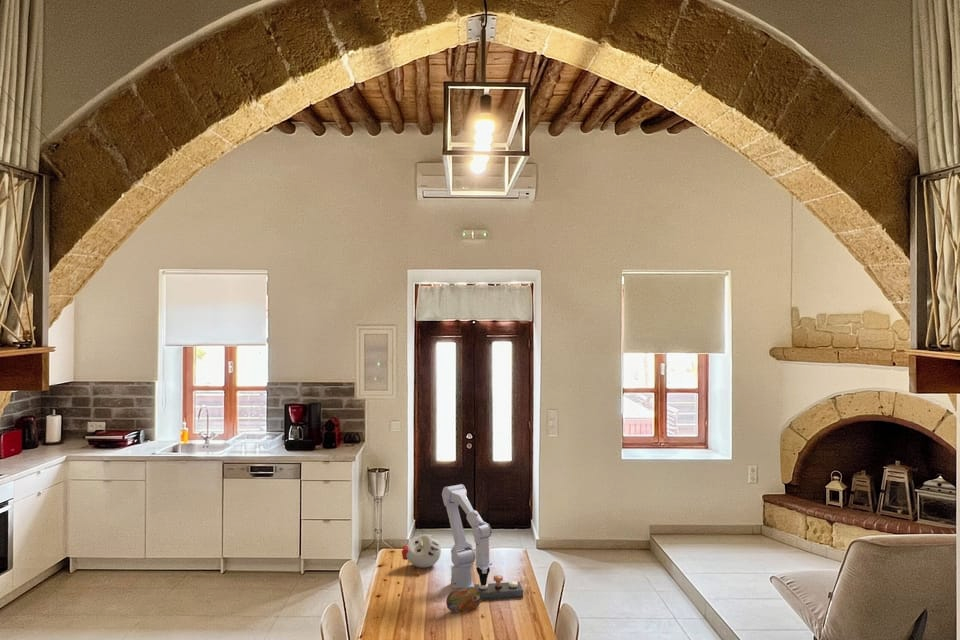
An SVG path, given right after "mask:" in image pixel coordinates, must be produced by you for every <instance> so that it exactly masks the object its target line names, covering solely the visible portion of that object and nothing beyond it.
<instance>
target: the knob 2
mask: <svg viewBox="0 0 960 640" xmlns="http://www.w3.org/2000/svg"><path fill="white" fill-rule="evenodd" d="M508 582H509V587H511V588H516V587H518V582H519V581H514V580H512V581H508Z"/></svg>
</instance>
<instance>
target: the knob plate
mask: <svg viewBox="0 0 960 640" xmlns="http://www.w3.org/2000/svg"><path fill="white" fill-rule="evenodd" d="M509 582H510V581H507V582H501V587H500V588H497V587H496V582H495V583H494V582H493V583H492V582H491V583H487V584H488V589H485V590H481V589H479V584H480V583H477V584H475V583H473V586H474V587H473V588H476V589H478V590H479V591H480V593H481V601H489V600H490V601H491V600H502V599H503V600H504V599H505V598H507V599H519V598H521V599H522V598H524V589H523V587H522V584H521V583H520V581H517V582H518V587H516V588H511V587H509Z"/></svg>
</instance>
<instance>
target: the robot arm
mask: <svg viewBox="0 0 960 640" xmlns="http://www.w3.org/2000/svg"><path fill="white" fill-rule="evenodd" d="M467 495H468V491H467V489H466V487H465V485H464V484H462V483H459V484H456V485H455V484H454V485H450V486H444V487H443V489H442V493H441V497H442V502H443V505H444V507H446V512H447V516H448V519H449V521H448V522H449V525H450V529H451V533H452V537H453V541H454V542H453V543H454V545H453V546H452V548H451V549H450V554H451V555H450V557H451V562H452V565H450V566H451V567H450V570H451V573H450V576H451V577H450V583H451V588H452V589H454V590H455V589H464V588H469V587H473V588H474V582H473V570H472V569H473V568H472V566H473V565H474V562H475V566H476V567H475V570H476V572H477V574H478V578H479V584H480V583H481V585H486V583H487V582H488V576H489V574H490V570H491V569H490V566H493V562H492V561H490V537H491V536H492V531H493V530H492V527H491V526H490V525H491V524H489V523H487V522H486V521H484V520H483V518H482V517H481V515H480V514H479V512H478V510H475V509H474V508H473V506H472V504H471V502H470V500H469V499H468V497H467ZM459 507H461V509H462V510H463V512H464V513H465V514H466V518H465V519H466V520H467V522H468V524H469V526H470V527H471V529H472V536H473V537H474V538H473V539H474V540H473V541H474V543H475V549H474V548H473V545H472V543H470V542H468V541H467V540H466V539H467V538H466V535H465V531H464V526H463V522H462V518H461V514H460V510H459Z"/></svg>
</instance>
